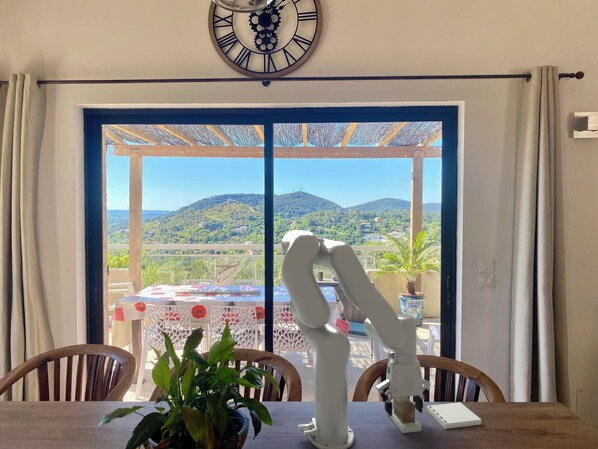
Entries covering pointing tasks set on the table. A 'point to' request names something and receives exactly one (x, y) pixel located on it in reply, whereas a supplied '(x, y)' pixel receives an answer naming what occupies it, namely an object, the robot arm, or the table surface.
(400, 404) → the stub
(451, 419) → the white flat slab
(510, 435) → the table surface
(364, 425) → the table surface
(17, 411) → the table surface
